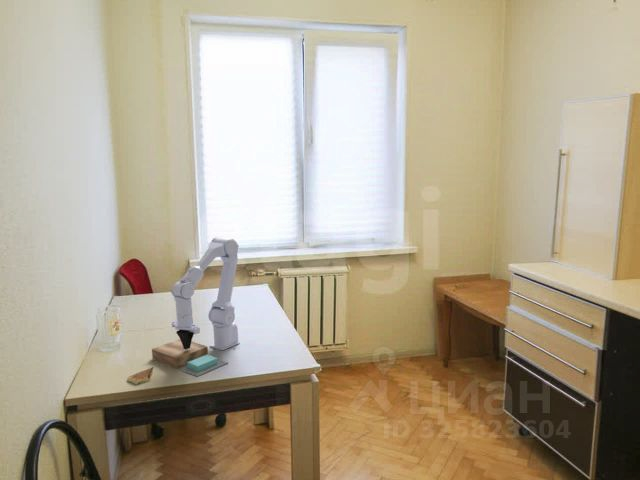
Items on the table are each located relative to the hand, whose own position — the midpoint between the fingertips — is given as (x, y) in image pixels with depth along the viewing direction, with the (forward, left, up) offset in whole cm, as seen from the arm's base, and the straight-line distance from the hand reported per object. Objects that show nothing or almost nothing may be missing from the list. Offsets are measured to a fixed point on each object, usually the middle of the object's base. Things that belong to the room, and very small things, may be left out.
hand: (187, 348), depth 188 cm
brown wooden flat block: (0, -5, -5) cm, 7 cm away
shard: (+19, -2, -6) cm, 20 cm away
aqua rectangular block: (0, +9, -2) cm, 10 cm away
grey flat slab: (0, +9, -5) cm, 11 cm away
